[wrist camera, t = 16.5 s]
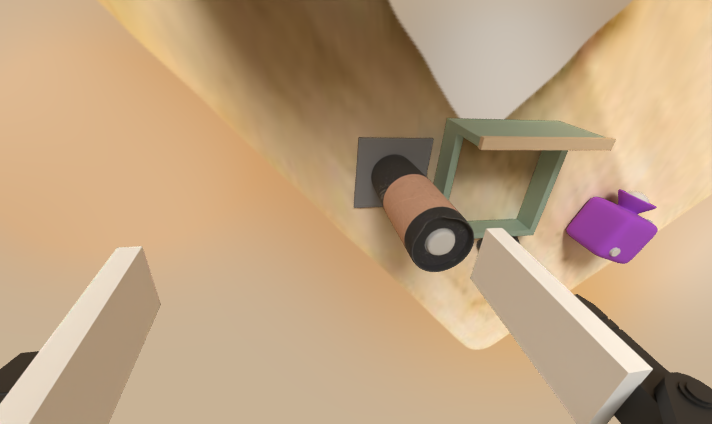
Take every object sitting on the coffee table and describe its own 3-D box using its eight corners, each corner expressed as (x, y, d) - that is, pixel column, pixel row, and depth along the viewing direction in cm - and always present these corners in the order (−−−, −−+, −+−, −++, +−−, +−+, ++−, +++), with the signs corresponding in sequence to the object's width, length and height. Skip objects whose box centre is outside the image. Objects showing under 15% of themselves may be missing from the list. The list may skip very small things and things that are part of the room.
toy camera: (633, 184, 64) (686, 208, 56) (595, 240, 71) (638, 269, 62) (593, 177, 62) (642, 202, 53) (557, 236, 68) (596, 266, 59)
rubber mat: (358, 137, 49) (359, 138, 48) (432, 138, 51) (433, 138, 51) (353, 206, 54) (354, 207, 54) (419, 204, 57) (420, 205, 57)
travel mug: (401, 200, 55) (453, 278, 38) (361, 188, 53) (398, 266, 36) (422, 160, 52) (488, 226, 35) (380, 145, 49) (431, 209, 33)
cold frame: (447, 116, 50) (484, 137, 40) (559, 119, 54) (616, 139, 45) (424, 228, 60) (449, 265, 51) (520, 223, 64) (559, 257, 55)
